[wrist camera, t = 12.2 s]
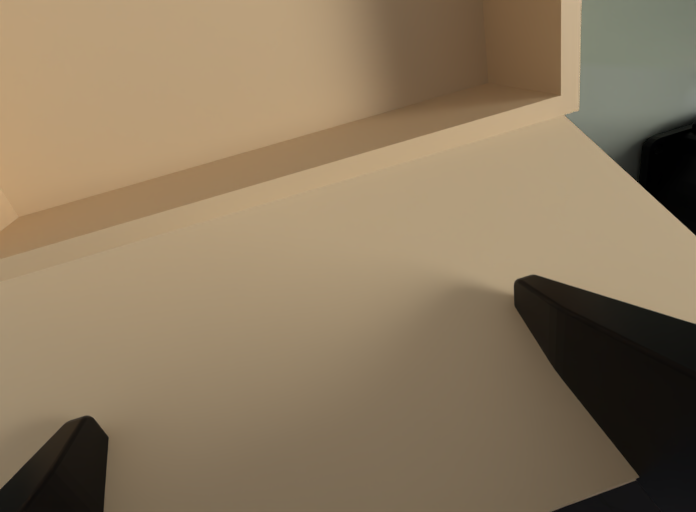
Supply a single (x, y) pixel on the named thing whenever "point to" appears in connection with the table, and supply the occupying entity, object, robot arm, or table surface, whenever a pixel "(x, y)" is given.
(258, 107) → the carton
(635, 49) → the table surface
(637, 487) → the product box
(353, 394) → the flap
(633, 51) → the table surface
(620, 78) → the table surface
